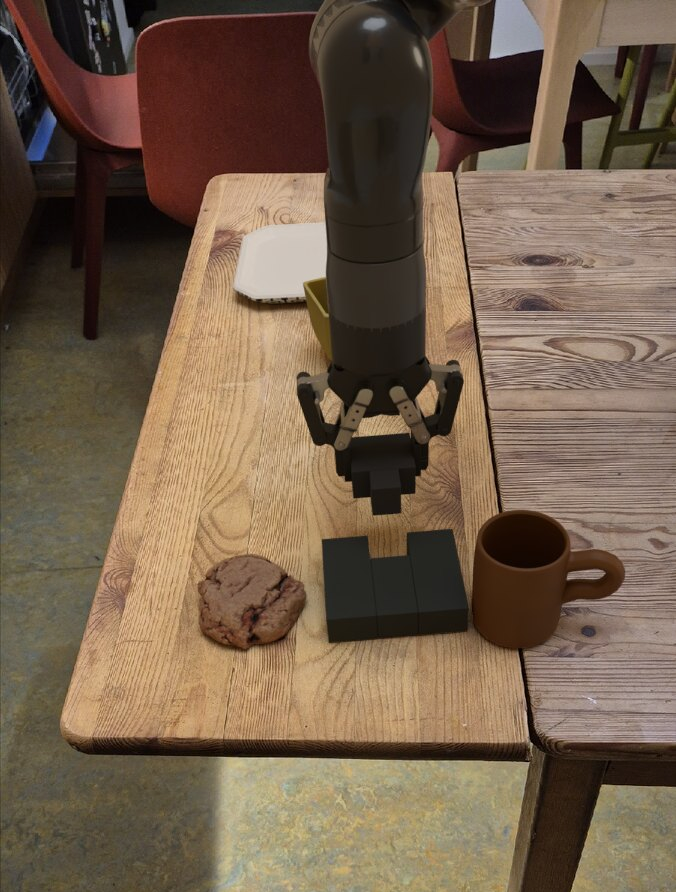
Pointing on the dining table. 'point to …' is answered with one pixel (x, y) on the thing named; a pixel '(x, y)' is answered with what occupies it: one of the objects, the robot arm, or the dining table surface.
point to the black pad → (383, 470)
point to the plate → (281, 262)
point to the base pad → (393, 588)
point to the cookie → (249, 601)
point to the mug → (531, 577)
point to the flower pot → (319, 311)
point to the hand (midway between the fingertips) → (382, 472)
